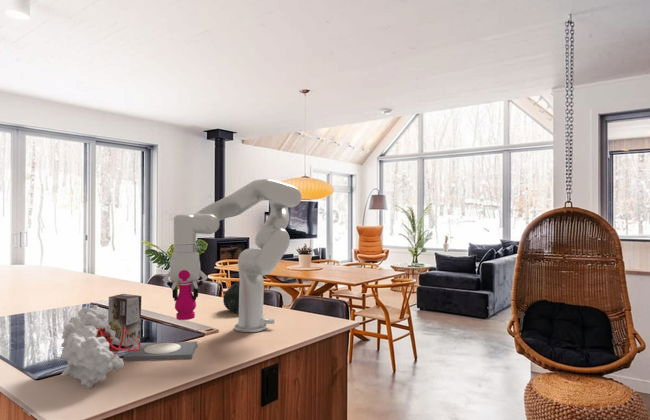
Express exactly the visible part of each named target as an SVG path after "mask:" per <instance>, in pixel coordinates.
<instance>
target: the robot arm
mask: <svg viewBox="0 0 650 420" xmlns="http://www.w3.org/2000/svg"><path fill="white" fill-rule="evenodd" d="M262 201H268V203H269V207H270V213H269V216H268V218H267V219H266V221H265V222H264V224H263V225H262V227H261V228H260V229H259V231H258V232H257V233H256V236H255V239H254V240H255V241H254V242H255V245H256V246H257V248H246V249H244V250H242V251H241V252H240V254H239V256H238V259H237V266H238V267H237V268H238V276H239V282H240V287H239V313H238V322H237V323H236V324H234V327H233V329H234V330H235V331H237V332H242V333H257V332H263V331H265V330H267V325H268V324H269V325H274V324H275V318H271V317H270V318H266V317H264V291H265V289H264V287H265V285H264V282H265V281H264V276H267V275H269V274H271V273H272V272H273V271H274V270H275V269H276V267H277V266H278V265H279V263H280V262H281V260H282V258H283V256H284V255H285V254H286V252H287V250H288V248H289V246H290V239H291V238H290V235H289V233H288V231H287V230H286V228H287V227H288V225H289V223H290V212H289V208H294V207H297V206H299V204H300V203H301V201H302V193H301V191H300V190H299V188H297V187H296V186H293V185H291V184H287V183H284V182H281V181H278V180H274V179H272V178H271V179H270V178H260V179H255V180H253V181H251V182H249V183H247V184H245V185H244V186H243V187H241V188H240V189H237V190H236V191H234V192H232V193H231V194H229V195H227V196H225V197H223V198H221V199H219V200H217V201H215V202H213V203H211V204H209V205H206V206H205V207H203V208H202V209H200V210H198V211H197V212H195V213H194V214H177V215H175V216H174V217H173V252H172V253H171V258H170V268H169V271H168V273H167V274H166V275H165V276H164V277H163V278H162V281H163V282H164V283H165V284H166V285H167V286H168V287H170V288H171V290H172V293H171V294H172V299H173V301H174V302H176V300H177V297H178V295H179V289H178V282H179V281H183V280H182V279H180V278H179V272H180V271H182V270H187V271H188V272H189V273H190V277H189V278H188V279H187V280H186V281H192V282H193V284H192V285H193V289H192V294H193V300H195V301H196V300H197V298H198V297H199V288H200V286H201V285H203V283H204V282H206V281H207V280H208V278H209V277H208V276H207V275H206V274H205V273H204V272H203V271H202V270H201V260H200V254H199V252H197V251H198V250H201V245H199V244H198V245H197V234H200V235H212V234H215V233H216V232H217V231H218V230H219V229H220V221H223V220H225V219H229V218H233V217H237V216H240V215H242V214H243V213H245V212H247V211H248V210H249V209H251V208H253V207H255V206H256V205H257V204H258V203H260V202H262ZM200 278H202V279H200ZM199 279H200V281H199Z"/></svg>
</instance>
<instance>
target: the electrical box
mask: <svg viewBox="0 0 650 420" xmlns="http://www.w3.org/2000/svg"><path fill="white" fill-rule="evenodd" d="M107 310H108V312H107V313H108V314H107V323H109V325H110V326H111V328H110V330H114V331H115V332H116V333H115V337H116V338H117V339H118V340H119V343H115V342H113V343H112V345H115V346H119V345H120V343H121V339H122V335H123V331H122V328H123V327H125V329H126V330H127V331H128V332H129V333H131V334H129V333H128V332H127V331H126V330H125V329H124V333H125V334H126V336H127V337H126V336H125V334H124V337H123V341H124V343H123V341H122V345H121V347H126V346H127V347H130V346H133V345H134V344H135V343H137V342H138V343H139V341H141V328H142V327H141V325H142V324H141V323H142V321H141V319H142V295H136V294H127V293H120V294H117V295H116V294H115V295H111V296H108V309H107ZM133 337H134V338H135V340H136V341H137V342H136V341H135V340H134V338H133ZM129 340H130V341H131V343H132V344H133V345H132V344H131V343H130V341H129ZM124 344H125V345H126V346H125V345H124ZM127 347H126V348H127Z"/></svg>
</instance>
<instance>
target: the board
mask: <svg viewBox="0 0 650 420" xmlns="http://www.w3.org/2000/svg"><path fill="white" fill-rule="evenodd" d="M133 345H134V347H135V348H136V349H138V348H139V345H138V343H135V344H133ZM133 345H131V348H130V349H135V348H134V347H133ZM197 347H198V340H197V341H196V340H195V341H164V342H163V341H162V342H161V341H160V342H141V343H140V349H139V350H138V351H127V352H126V353H125V354H124V355H123V358H122V359H123V362H125V361H129V362H130V361H151V360H152V361H154V360H155V361H156V360H158V361H159V360H180V359H181V360H183V359H193V357H194V354H195V351H196V349H197Z"/></svg>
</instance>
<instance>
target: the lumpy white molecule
mask: <svg viewBox="0 0 650 420" xmlns="http://www.w3.org/2000/svg"><path fill="white" fill-rule="evenodd" d="M77 315H78V316H77ZM77 315H75V316H71V317H70V318H69V323H67V324H65V325H64V327H63V329H64V330H63V331H62V337H61V338H62V340H63V342H62V343H61V345H60V346H61V347H62V349H61V355H60V357H61V359H62V360H63V361H65V362H67V366H66V367H65V369H64V371H63V372H62V373H61V377H63V378H64V377H67V376H71V377H73V378H74V379H75V380H76V379H78V380H80V385H81V386H83V387H84V386H86V387H87V388H88V389H90V388H92V387H93V385H95V384H96V383H98V382H104V381H106V380H107V373H108V372H109V373H110V372H111V371H114V372H118V371H119V370H121V369H123V367H124V364H125V363H124V362H125V361H123V358H122V357H120V356H119V353H118V352H119V351H127V352H128V351H138V350H139V349H140V343H142V342H141V340H140V341H139V343H138V342H137V341H136V340H135V338H134V337H133V338H134V340H135V341H136V342H137V343H138V345H139V348H138V349H136V348H135V347H134V344H132V343H131V341H130V340H129V341H130V343H131V344H132V345H131V346H133V347H134V348H135V349H131V348H129V346H126V345H125V344H124V345H125V346H126V348H121V347H122V346H121V345H122V341H123V337H124V334H125V333H124V329H125V327H123V328H122V331H123V335H122V339H121V343H120V345H117V346H118V347H116V346H114V344H112V343H113V342H115V343H119V340H118V339H117V338H116V337H115V333H116V332H115V331H114V330H110V328H111V326H110V325H109V323H108V322H107V321H106V319H107V318H108V314H106V313H103V311H102V310H101V309H99V306H98V305H97V304H96V305H93V306H92V307H87V306H83V307H81V309H80V310H79V311H78V313H77ZM125 330H126V329H125ZM126 331H127V330H126ZM127 332H128V331H127ZM128 333H129V332H128ZM129 334H131V333H129ZM125 336H126V334H125ZM126 337H127V336H126ZM123 343H124V341H123ZM125 346H124V347H125ZM115 350H116V351H115Z"/></svg>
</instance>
